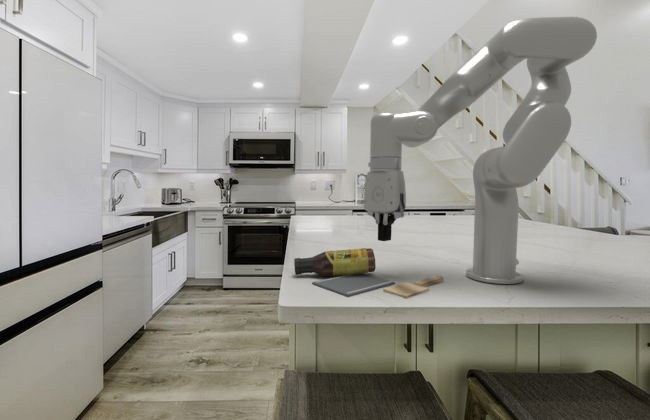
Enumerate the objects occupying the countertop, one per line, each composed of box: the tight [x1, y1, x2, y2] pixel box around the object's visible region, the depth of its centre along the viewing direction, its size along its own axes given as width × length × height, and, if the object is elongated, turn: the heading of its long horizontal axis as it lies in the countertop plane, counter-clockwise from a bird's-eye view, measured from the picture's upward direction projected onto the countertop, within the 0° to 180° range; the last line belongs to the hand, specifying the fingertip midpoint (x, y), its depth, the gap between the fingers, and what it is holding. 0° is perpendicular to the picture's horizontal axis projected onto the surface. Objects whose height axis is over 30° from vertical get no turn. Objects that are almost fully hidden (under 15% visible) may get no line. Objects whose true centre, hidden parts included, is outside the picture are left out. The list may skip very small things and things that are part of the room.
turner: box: [383, 275, 444, 299], centre depth 77 cm, size 17×6×1 cm, turn 130°
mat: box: [311, 273, 396, 298], centre depth 80 cm, size 15×12×1 cm
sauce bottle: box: [293, 247, 376, 277], centre depth 86 cm, size 6×6×20 cm
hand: (384, 240), depth 86 cm, fingers closed
